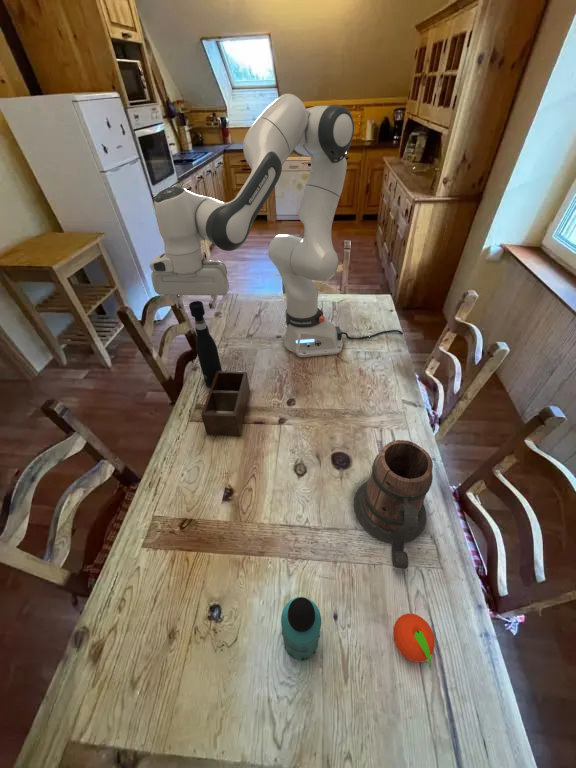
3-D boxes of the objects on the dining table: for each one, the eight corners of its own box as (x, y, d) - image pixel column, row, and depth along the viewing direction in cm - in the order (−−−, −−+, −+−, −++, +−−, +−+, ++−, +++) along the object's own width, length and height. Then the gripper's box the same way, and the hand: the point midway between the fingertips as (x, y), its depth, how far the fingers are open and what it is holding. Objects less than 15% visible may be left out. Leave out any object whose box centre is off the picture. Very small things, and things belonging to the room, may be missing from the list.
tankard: (352, 474, 88) (361, 424, 75) (419, 480, 87) (441, 429, 73) (355, 572, 71) (367, 529, 58) (439, 581, 70) (471, 539, 56)
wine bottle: (226, 376, 119) (209, 298, 98) (221, 389, 114) (203, 310, 94) (208, 375, 119) (188, 298, 99) (203, 388, 115) (181, 309, 94)
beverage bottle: (282, 622, 65) (276, 588, 52) (316, 619, 65) (319, 584, 52) (284, 666, 60) (279, 641, 47) (321, 662, 61) (327, 636, 47)
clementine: (441, 662, 60) (453, 655, 55) (407, 680, 59) (416, 673, 54) (414, 612, 66) (423, 601, 61) (382, 627, 64) (389, 617, 59)
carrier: (250, 391, 113) (247, 371, 107) (239, 436, 99) (235, 416, 93) (221, 390, 113) (216, 370, 108) (207, 435, 100) (200, 414, 94)
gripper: (227, 255, 89) (234, 302, 99) (152, 255, 91) (166, 301, 100) (222, 265, 85) (230, 313, 94) (143, 265, 86) (158, 312, 96)
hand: (196, 307), depth 97 cm, fingers open, 8 cm apart
